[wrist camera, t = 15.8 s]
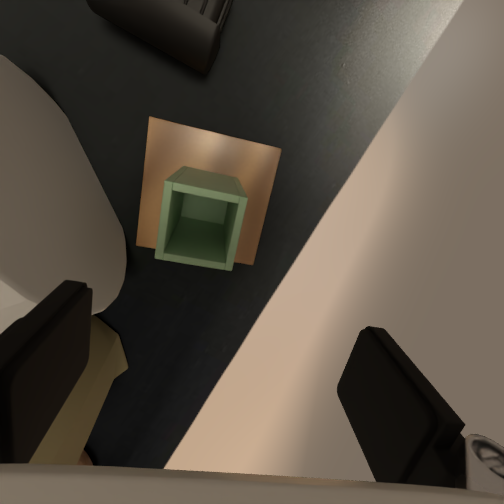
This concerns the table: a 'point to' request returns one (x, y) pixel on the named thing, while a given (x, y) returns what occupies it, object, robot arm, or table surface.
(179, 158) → the cork mat
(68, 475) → the robot arm
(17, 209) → the alarm clock
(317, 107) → the table surface
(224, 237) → the sage tub
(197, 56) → the end cap
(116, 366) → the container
